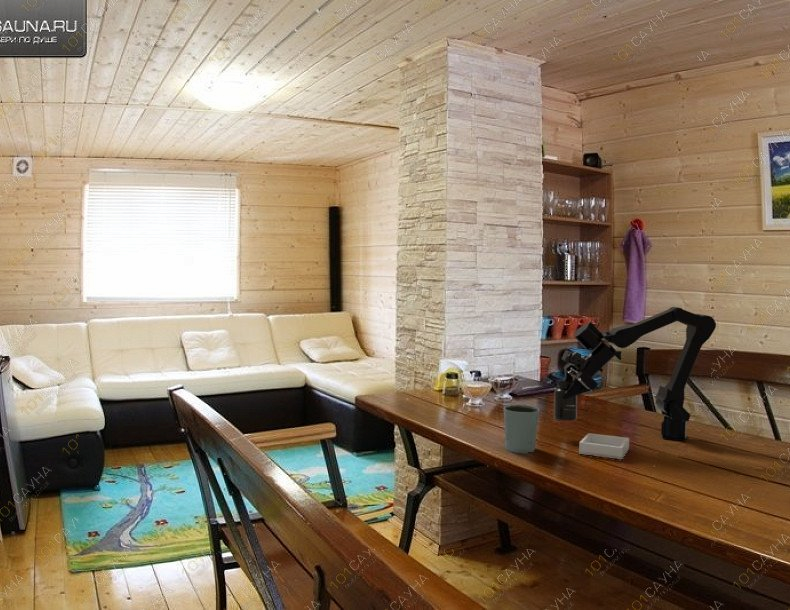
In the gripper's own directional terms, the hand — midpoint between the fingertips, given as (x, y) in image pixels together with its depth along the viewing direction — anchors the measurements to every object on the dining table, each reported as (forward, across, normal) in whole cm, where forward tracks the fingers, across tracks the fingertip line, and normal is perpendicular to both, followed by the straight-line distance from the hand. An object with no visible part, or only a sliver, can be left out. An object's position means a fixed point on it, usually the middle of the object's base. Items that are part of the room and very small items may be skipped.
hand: (560, 396), depth 206 cm
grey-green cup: (+19, +12, -1) cm, 23 cm away
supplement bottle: (+4, +2, +6) cm, 8 cm away
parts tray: (+3, +15, +16) cm, 22 cm away
